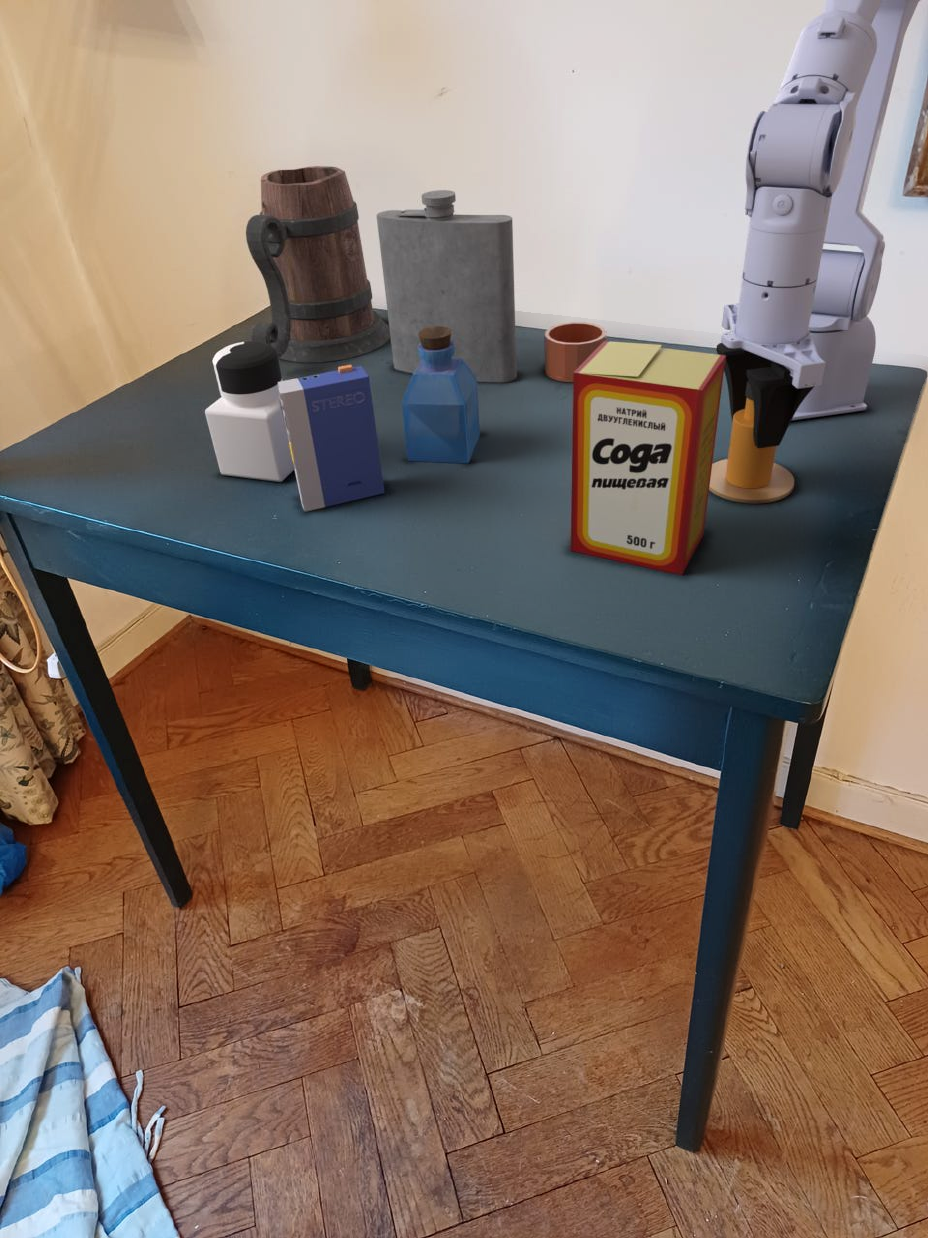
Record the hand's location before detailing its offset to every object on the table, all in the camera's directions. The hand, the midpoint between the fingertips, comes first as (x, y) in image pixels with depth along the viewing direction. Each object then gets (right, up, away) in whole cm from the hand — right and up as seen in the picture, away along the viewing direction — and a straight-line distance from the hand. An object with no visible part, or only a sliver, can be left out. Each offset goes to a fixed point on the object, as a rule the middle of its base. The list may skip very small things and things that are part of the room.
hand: (755, 433), depth 78 cm
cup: (-13, +13, +26) cm, 31 cm away
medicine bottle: (-46, -1, +12) cm, 47 cm away
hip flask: (-27, +13, +28) cm, 41 cm away
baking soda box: (-11, -10, -4) cm, 16 cm away
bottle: (0, -4, +3) cm, 4 cm away
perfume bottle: (-28, +1, +12) cm, 30 cm away
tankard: (-45, +19, +37) cm, 62 cm away
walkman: (-37, -5, +6) cm, 38 cm away
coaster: (0, -4, +3) cm, 5 cm away
